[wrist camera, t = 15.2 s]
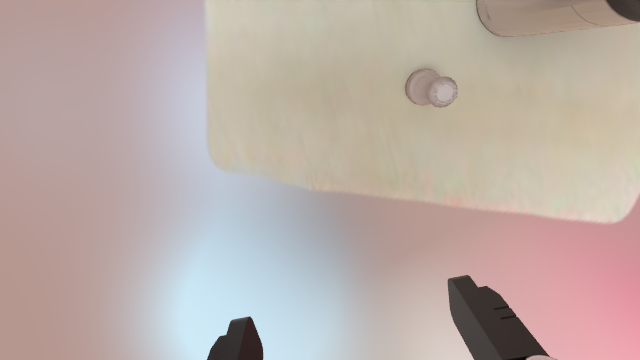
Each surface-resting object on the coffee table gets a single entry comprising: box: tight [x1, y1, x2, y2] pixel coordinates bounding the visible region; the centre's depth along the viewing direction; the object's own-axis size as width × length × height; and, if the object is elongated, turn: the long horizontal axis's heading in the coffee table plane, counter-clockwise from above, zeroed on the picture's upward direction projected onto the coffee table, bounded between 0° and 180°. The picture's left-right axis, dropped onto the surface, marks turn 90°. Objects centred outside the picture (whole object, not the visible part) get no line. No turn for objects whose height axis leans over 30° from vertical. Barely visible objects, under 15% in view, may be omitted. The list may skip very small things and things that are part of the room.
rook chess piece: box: [406, 69, 458, 108], centre depth 37 cm, size 4×4×8 cm
